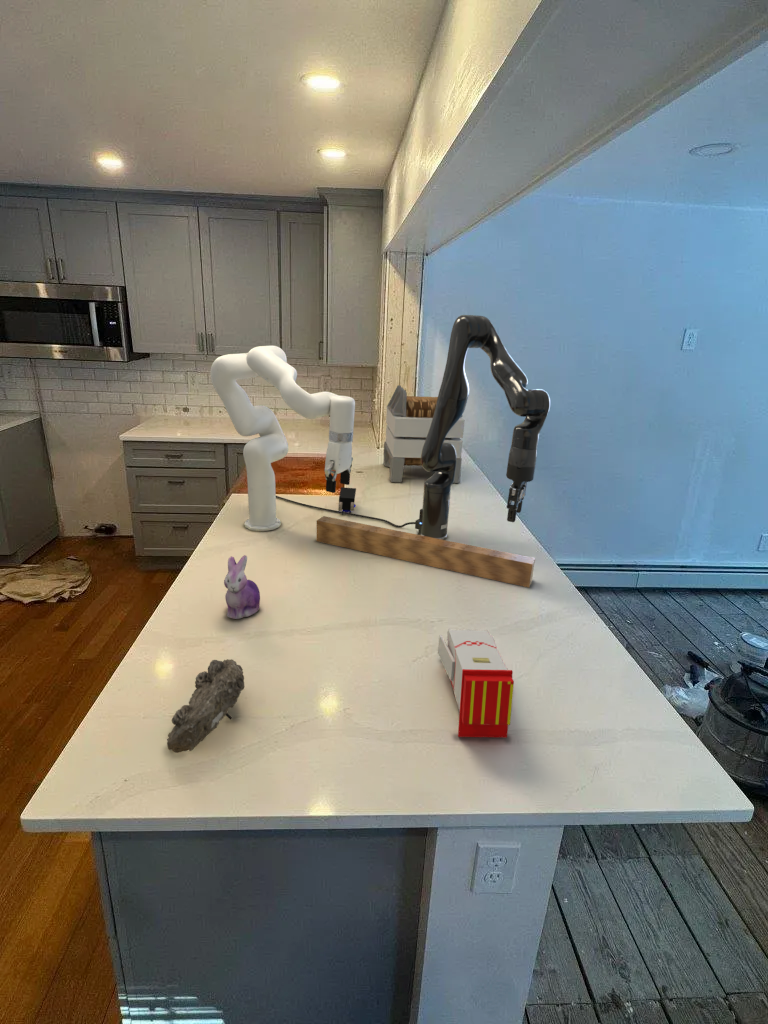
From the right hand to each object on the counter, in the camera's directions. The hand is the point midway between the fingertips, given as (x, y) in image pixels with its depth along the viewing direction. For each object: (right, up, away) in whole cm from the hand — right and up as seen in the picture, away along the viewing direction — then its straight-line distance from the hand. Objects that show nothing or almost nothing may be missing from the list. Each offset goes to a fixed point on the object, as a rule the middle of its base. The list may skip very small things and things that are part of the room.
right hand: (513, 516), depth 163 cm
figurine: (-73, -24, -17) cm, 79 cm away
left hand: (-52, +9, +21) cm, 57 cm away
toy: (-19, -36, -44) cm, 60 cm away
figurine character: (-52, +2, +57) cm, 77 cm away
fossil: (-70, -38, -55) cm, 97 cm away
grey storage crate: (-20, +20, +112) cm, 116 cm away
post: (-27, -14, +17) cm, 34 cm away
